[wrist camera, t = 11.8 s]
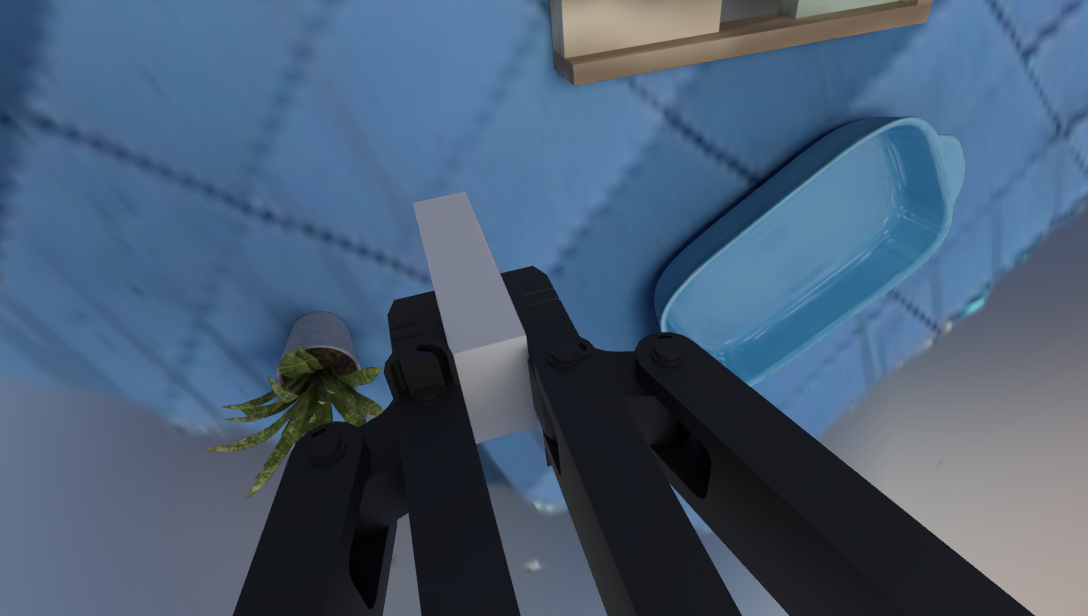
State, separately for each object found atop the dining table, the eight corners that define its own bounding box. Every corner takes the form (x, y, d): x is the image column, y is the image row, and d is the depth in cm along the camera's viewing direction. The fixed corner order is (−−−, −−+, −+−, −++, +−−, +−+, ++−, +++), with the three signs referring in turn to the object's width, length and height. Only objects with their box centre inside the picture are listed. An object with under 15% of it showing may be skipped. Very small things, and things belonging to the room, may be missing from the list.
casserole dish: (893, 52, 56) (954, 72, 50) (932, 200, 70) (983, 228, 64) (597, 290, 63) (623, 330, 57) (685, 381, 77) (713, 421, 71)
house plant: (189, 299, 50) (142, 443, 37) (340, 239, 51) (343, 360, 38) (280, 401, 59) (267, 543, 47) (407, 349, 60) (427, 475, 47)
